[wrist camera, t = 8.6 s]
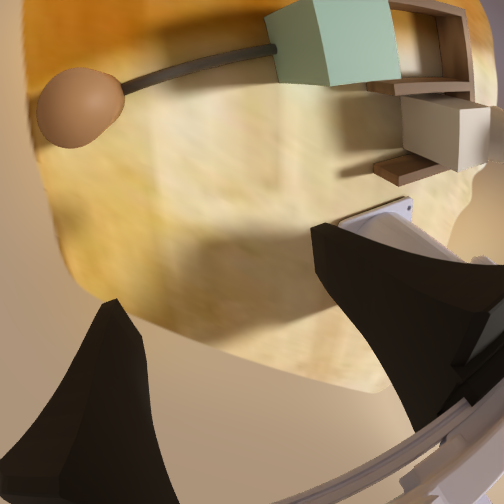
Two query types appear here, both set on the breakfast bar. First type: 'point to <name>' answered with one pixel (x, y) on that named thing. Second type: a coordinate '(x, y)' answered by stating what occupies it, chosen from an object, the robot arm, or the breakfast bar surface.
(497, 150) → the salt shaker
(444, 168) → the walnut rack
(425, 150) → the grey block
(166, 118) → the breakfast bar surface
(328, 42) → the tethered block
